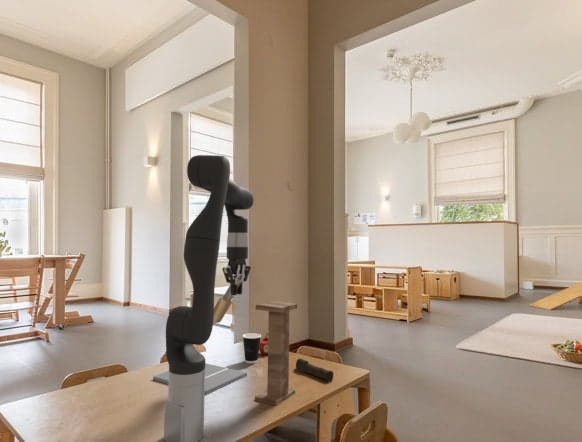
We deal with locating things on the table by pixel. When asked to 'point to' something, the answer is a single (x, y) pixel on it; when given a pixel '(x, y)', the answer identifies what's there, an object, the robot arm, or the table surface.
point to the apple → (264, 345)
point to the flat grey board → (211, 377)
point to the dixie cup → (251, 347)
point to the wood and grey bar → (224, 304)
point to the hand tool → (314, 370)
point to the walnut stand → (277, 352)
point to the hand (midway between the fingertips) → (236, 294)
